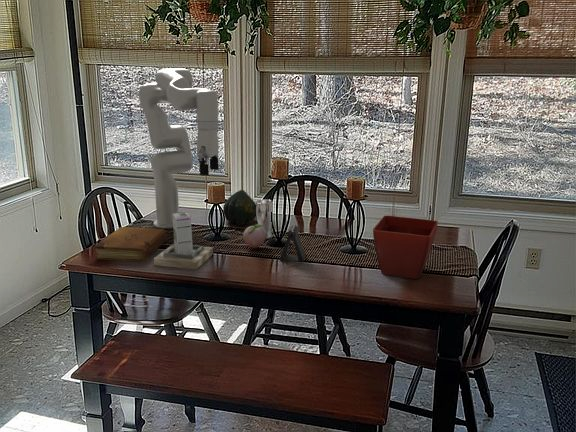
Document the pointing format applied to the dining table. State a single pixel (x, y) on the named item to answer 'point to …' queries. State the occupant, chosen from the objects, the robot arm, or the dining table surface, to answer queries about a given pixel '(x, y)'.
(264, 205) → the beer glass
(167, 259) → the base plate
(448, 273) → the dining table surface
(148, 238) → the diary
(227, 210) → the squash
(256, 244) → the decorative fruit
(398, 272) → the plant pot
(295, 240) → the phone stand
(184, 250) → the syrup box
